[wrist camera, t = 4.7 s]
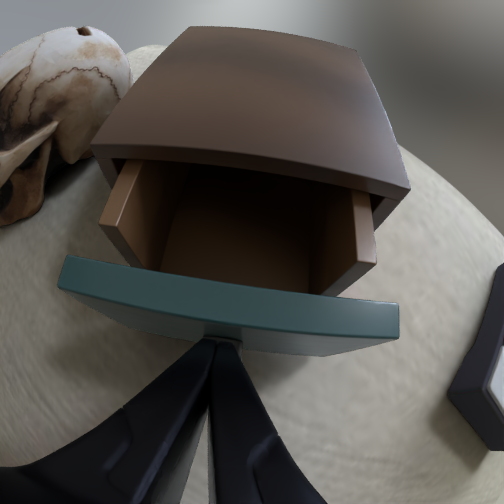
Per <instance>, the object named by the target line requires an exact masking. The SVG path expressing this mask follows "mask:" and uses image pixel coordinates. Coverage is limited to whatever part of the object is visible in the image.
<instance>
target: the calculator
mask: <svg viewBox="0 0 504 504" xmlns="http://www.w3.org/2000/svg"><path fill="white" fill-rule="evenodd" d="M448 396H449V398H450V399H451V401H452V402H453V403H454V404H455V405H456V407H457V408H458V409H459V410H460V412H461V413H462V414H463V415H464V417H465V418H466V419H467V420H468V422H469V423H470V424H471V425H472V427H473V428H474V429H475V431H476V432H477V433H478V435H479V436H480V437H481V438H482V440H483V441H484V442H485V444H486V445H487V446H488V448H489V449H490V450H491V451H504V263H503V264H501V265H500V266H498V268H497V272H496V276H495V281H494V285H493V289H492V293H491V296H490V300H489V304H488V307H487V310H486V313H485V317H484V320H483V323H482V326H481V329H480V331H479V334H478V337H477V340H476V342H475V345H474V346H473V347H472V349H471V350H470V351H469V352H468V353H467V355H466V356H465V358H464V360H463V362H462V365H461V367H460V369H459V371H458V373H457V375H456V377H455V379H454V381H453V383H452V385H451V387H450V389H449V391H448Z"/></svg>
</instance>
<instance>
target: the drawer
mask: <svg viewBox="0 0 504 504" xmlns="http://www.w3.org/2000/svg"><path fill="white" fill-rule="evenodd" d="M98 225H99V226H100V228H101V229H102V230H103V232H104V233H105V234H106V236H107V237H108V238H109V240H110V241H111V242H112V243H113V245H114V246H115V247H116V249H117V250H118V251H119V252H120V254H121V255H122V256H123V257H124V259H125V260H126V261H127V262H128V264H129V265H130V266H131V267H129V266H124V265H118V264H113V263H108V262H103V261H98V260H93V259H88V258H83V257H78V256H73V255H67V256H66V259H65V262H64V265H63V268H62V271H61V274H60V277H59V280H58V284H57V287H58V288H59V289H60V290H62V291H63V292H65V293H66V294H68V295H70V296H71V297H73V298H75V299H76V300H78V301H80V302H81V303H83V304H85V305H87V306H88V307H90V308H92V309H94V310H96V311H97V312H99V313H101V314H103V315H105V316H107V317H109V318H110V319H112V320H114V321H116V322H118V323H120V324H122V325H124V326H126V327H128V328H132V329H136V330H140V331H144V332H149V333H153V334H158V335H162V336H167V337H172V338H177V339H182V340H187V341H193V342H198V341H199V340H200V339H202V338H208V339H214V340H216V341H217V342H218V341H227V342H232V343H233V344H234V346H235V348H236V350H237V352H238V354H239V356H240V359H241V356H242V349H245V350H253V351H261V352H270V353H280V354H291V355H304V356H319V357H325V356H330V355H335V354H340V353H344V352H349V351H354V350H358V349H362V348H366V347H371V346H375V345H378V344H382V343H386V342H390V341H393V340H397V339H399V304H398V303H391V302H380V301H370V300H360V299H350V298H341V297H336V296H337V295H339V294H340V293H341V292H343V291H344V290H345V289H347V288H348V287H349V286H350V285H352V284H353V283H354V282H356V281H357V280H358V279H359V278H361V277H362V276H363V275H364V274H366V273H367V272H368V271H369V270H370V269H372V268H373V267H374V266H375V265H376V264H377V260H376V248H375V237H374V228H373V219H372V211H371V204H370V197H369V192H364V191H360V190H356V189H352V188H347V187H343V186H338V185H333V184H329V183H324V182H319V181H314V180H308V179H303V178H298V177H292V176H286V175H280V174H274V173H268V172H262V171H255V170H248V169H241V168H233V167H225V166H216V165H207V164H198V163H187V162H176V161H162V160H146V159H127V160H126V162H125V164H124V166H123V168H122V170H121V172H120V174H119V176H118V179H117V181H116V183H115V185H114V187H113V189H112V191H111V194H110V196H109V198H108V200H107V203H106V205H105V207H104V210H103V212H102V215H101V217H100V220H99V222H98Z"/></svg>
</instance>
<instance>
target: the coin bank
mask: <svg viewBox="0 0 504 504" xmlns="http://www.w3.org/2000/svg"><path fill="white" fill-rule="evenodd" d="M133 84H134V80H133V75H132V71H131V65H130V62H129V59H128V57H127V56H126V55H125V54H124V52H123V51H122V50H121V48H120V47H119V46H118V44H117V43H116V42H115V41H114V40H113V39H112V38H111V37H110V36H108V35H107V34H106V33H104V32H103V31H101V30H99V29H96V28H93V27H89V26H84V27H82V28H74V27H63V28H59V29H56V30H53V31H49V32H47V33H44V34H41V35H38V36H36V37H34V38H32V39H30V40H28V41H26V42H24V43H22V44H20V45H18V46H16V47H14V48H12V49H10V50H9V51H7V52H5V53H4V54H3V55H2V56H0V227H1V226H3V225H5V224H12V223H14V222H15V221H16V220H18V219H22V218H25V217H29V216H31V215H33V214H35V213H36V212H37V211H38V210H39V209H40V207H41V205H42V203H43V201H44V191H45V185H46V181H47V179H48V177H50V176H52V175H54V174H55V173H56V172H57V171H58V170H60V169H61V168H62V167H63V166H65V165H66V164H68V163H69V164H74V163H75V162H76V161H77V160H80V159H85V158H88V157H91V156H94V154H93V151H92V149H91V147H90V143H91V141H92V140H93V138H94V137H95V135H96V134H97V132H98V131H99V129H100V128H101V126H102V125H103V123H104V122H105V121H106V119H107V118H108V116H109V115H110V114H111V112H112V111H113V110H114V108H115V107H116V106H117V104H118V103H119V102H120V100H121V99H122V98H123V96H124V95H125V94H126V93H127V92H128V90H129V89H130V88H131V87H132V85H133Z"/></svg>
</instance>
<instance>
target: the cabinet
mask: <svg viewBox="0 0 504 504" xmlns="http://www.w3.org/2000/svg"><path fill="white" fill-rule="evenodd" d="M90 147H91V149H92V151H93V154H94V156H95V157H96V160H97V162H98V164H99V166H100V168H101V170H102V172H103V174H104V176H105V178H106V180H107V182H108V184H109V186H110V188H111V190H112V189H113V187H114V185H115V183H116V181H117V179H118V176H119V174H120V172H121V170H122V168H123V166H124V164H125V162H126V160H127V159H146V160H162V161H176V162H187V163H198V164H207V165H216V166H225V167H233V168H241V169H248V170H255V171H262V172H268V173H274V174H280V175H286V176H292V177H298V178H303V179H308V180H314V181H319V182H324V183H329V184H333V185H338V186H343V187H347V188H352V189H356V190H360V191H364V192H369V197H370V204H371V211H372V219H373V228H374V231H375V230H376V229H377V228H378V227H379V226H380V225H381V224H382V223H383V221H384V220H385V219H386V218H387V217H388V216H389V215H390V214H391V212H392V211H393V210H394V209H395V208H396V207H397V206H398V204H399V203H400V202H401V201H402V200H403V199H404V197H405V196H406V195H407V194H408V193H409V192H410V190H411V187H410V184H409V180H408V176H407V173H406V170H405V166H404V163H403V160H402V156H401V153H400V150H399V147H398V144H397V141H396V139H395V136H394V133H393V130H392V128H391V125H390V122H389V120H388V117H387V115H386V112H385V110H384V108H383V105H382V103H381V100H380V98H379V96H378V93H377V91H376V89H375V87H374V85H373V82H372V80H371V78H370V76H369V74H368V72H367V70H366V68H365V66H364V64H363V62H362V60H361V58H360V57H359V55H358V53H357V51H356V50H354V49H351V48H348V47H344V46H341V45H337V44H333V43H330V42H326V41H322V40H317V39H313V38H308V37H303V36H298V35H293V34H287V33H281V32H274V31H267V30H259V29H249V28H237V27H214V26H191V27H189V28H187V30H185V31H184V32H183V33H182V34H181V35H180V36H179V37H178V38H177V39H176V40H174V42H172V43H171V44H170V45H169V46H168V47H167V48H166V49H165V50H164V51H163V52H162V53H161V54H160V55H159V56H158V57H157V58H156V60H155V61H154V62H153V63H152V64H151V65H150V66H149V67H148V68H147V69H146V70H145V72H144V73H143V74H142V75H141V76H140V77H139V78H138V80H137V81H136V82H135V83H134V84H133V85H132V87H131V88H130V89H129V90H128V92H127V93H126V94H125V95H124V96H123V98H122V99H121V100H120V102H119V103H118V104H117V106H116V107H115V108H114V110H113V111H112V112H111V114H110V115H109V116H108V118H107V119H106V121H105V122H104V123H103V125H102V126H101V128H100V129H99V131H98V132H97V134H96V135H95V137H94V138H93V140H92V141H91V143H90Z"/></svg>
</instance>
